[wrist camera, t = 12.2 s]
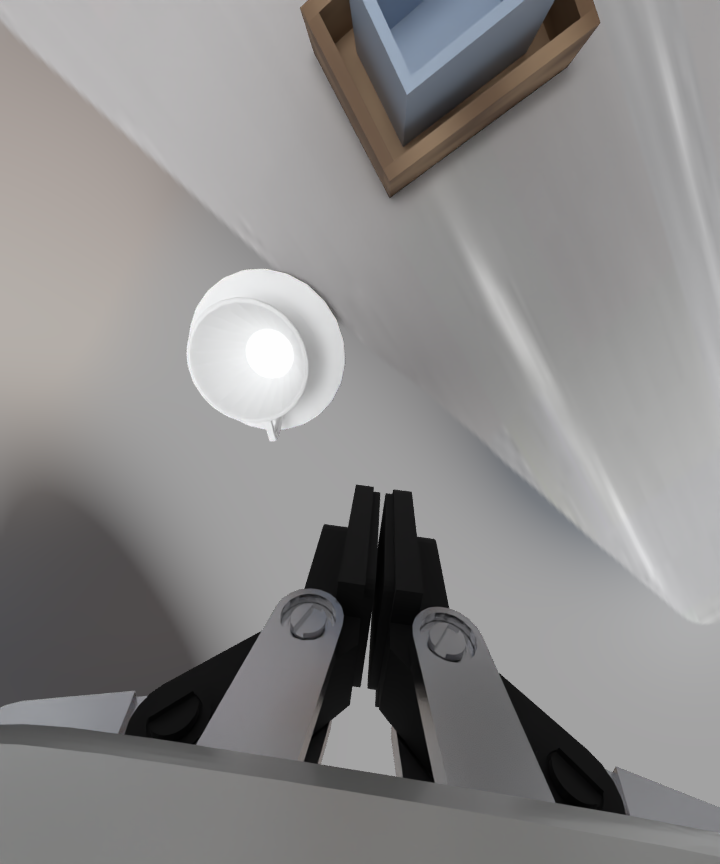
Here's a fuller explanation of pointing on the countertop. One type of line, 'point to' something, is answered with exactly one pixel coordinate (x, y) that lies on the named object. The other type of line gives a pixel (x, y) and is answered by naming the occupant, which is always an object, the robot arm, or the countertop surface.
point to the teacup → (265, 350)
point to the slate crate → (438, 51)
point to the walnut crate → (402, 165)
